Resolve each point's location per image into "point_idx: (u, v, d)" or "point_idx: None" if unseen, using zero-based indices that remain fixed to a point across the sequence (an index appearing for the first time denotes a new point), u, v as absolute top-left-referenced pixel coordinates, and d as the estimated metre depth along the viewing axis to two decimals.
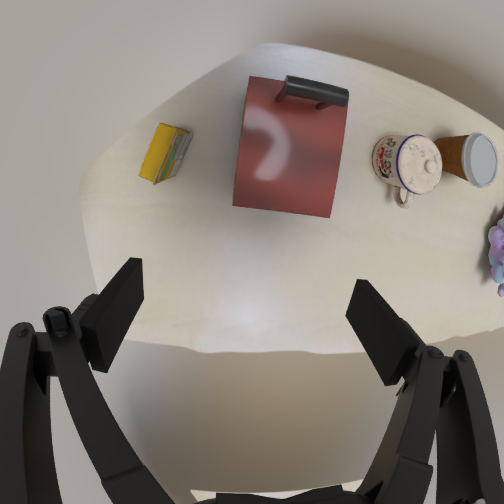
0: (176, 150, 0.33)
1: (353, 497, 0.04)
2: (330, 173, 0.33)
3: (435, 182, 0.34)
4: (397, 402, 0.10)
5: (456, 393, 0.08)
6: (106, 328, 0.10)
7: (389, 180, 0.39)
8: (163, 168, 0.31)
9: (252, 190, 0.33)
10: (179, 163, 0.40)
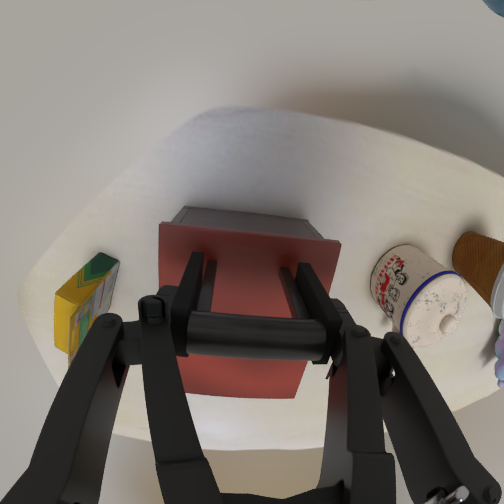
0: (90, 312, 0.23)
1: None
2: None
3: None
4: (330, 387, 0.11)
5: (397, 380, 0.09)
6: None
7: None
8: (76, 345, 0.21)
9: (188, 379, 0.23)
10: (109, 298, 0.29)
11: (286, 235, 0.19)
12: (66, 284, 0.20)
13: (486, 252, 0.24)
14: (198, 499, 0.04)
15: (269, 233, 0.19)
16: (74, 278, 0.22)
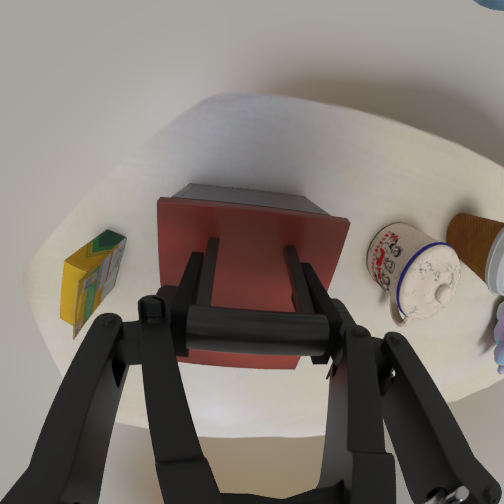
0: (97, 282, 0.24)
1: None
2: None
3: (446, 302, 0.25)
4: (330, 387, 0.11)
5: (397, 380, 0.09)
6: None
7: None
8: (82, 315, 0.22)
9: (190, 350, 0.24)
10: (115, 275, 0.31)
11: (292, 212, 0.17)
12: (75, 254, 0.22)
13: (478, 229, 0.25)
14: (198, 499, 0.04)
15: (274, 209, 0.17)
16: (83, 249, 0.23)
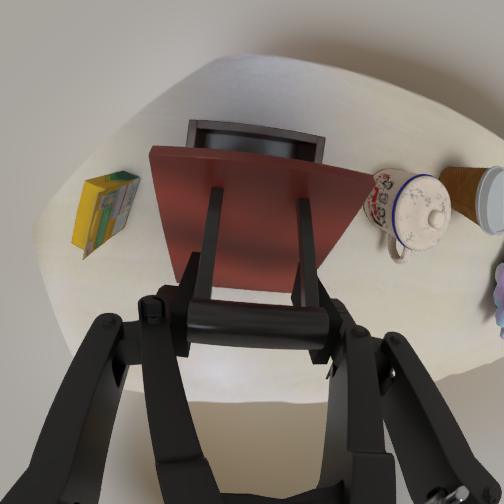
0: (112, 209, 0.27)
1: None
2: None
3: (440, 235, 0.27)
4: (330, 387, 0.11)
5: (397, 380, 0.09)
6: None
7: (383, 229, 0.32)
8: (94, 236, 0.25)
9: None
10: (126, 214, 0.33)
11: (310, 165, 0.14)
12: (95, 178, 0.24)
13: (465, 174, 0.28)
14: (198, 499, 0.04)
15: (289, 162, 0.14)
16: (102, 177, 0.25)
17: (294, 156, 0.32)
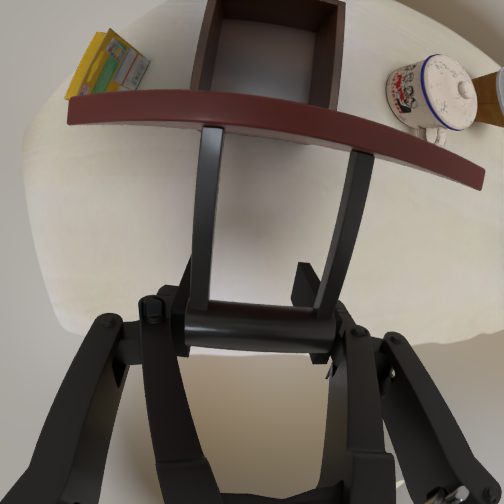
0: (117, 67, 0.19)
1: None
2: (347, 151, 0.16)
3: (472, 116, 0.20)
4: (330, 387, 0.11)
5: (397, 380, 0.09)
6: None
7: (412, 115, 0.25)
8: (93, 83, 0.17)
9: None
10: None
11: (396, 144, 0.06)
12: None
13: (482, 78, 0.20)
14: (198, 499, 0.04)
15: (359, 131, 0.06)
16: None
17: (313, 41, 0.24)
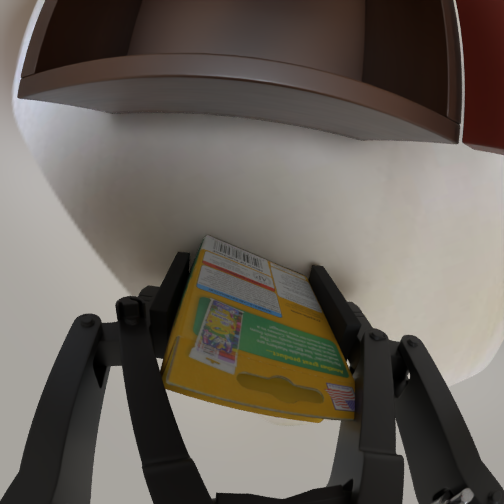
0: (253, 312, 0.11)
1: (353, 497, 0.04)
2: None
3: None
4: None
5: (412, 382, 0.09)
6: (171, 316, 0.12)
7: None
8: (317, 378, 0.09)
9: None
10: (279, 268, 0.17)
11: None
12: (165, 351, 0.10)
13: None
14: (187, 501, 0.04)
15: None
16: (172, 328, 0.11)
17: None
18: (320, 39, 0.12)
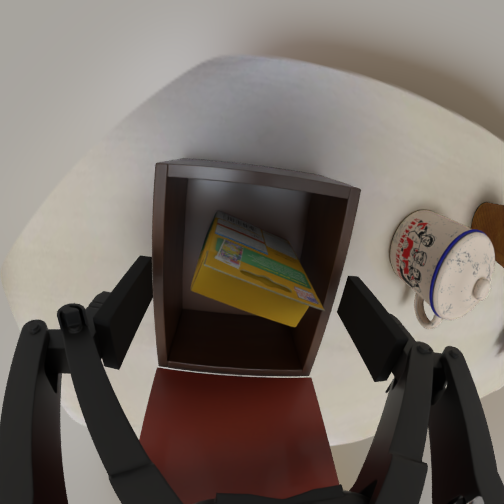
0: (249, 249, 0.18)
1: (353, 497, 0.04)
2: None
3: None
4: (387, 399, 0.10)
5: (448, 390, 0.08)
6: (119, 325, 0.10)
7: (412, 288, 0.25)
8: (288, 282, 0.16)
9: None
10: (269, 234, 0.24)
11: None
12: (194, 273, 0.17)
13: None
14: None
15: None
16: (197, 263, 0.19)
17: (308, 199, 0.24)
18: None
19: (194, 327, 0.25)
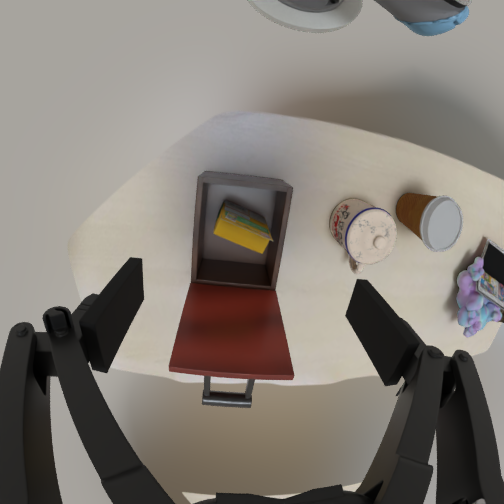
0: (240, 216, 0.38)
1: (353, 497, 0.04)
2: None
3: (387, 252, 0.39)
4: (397, 402, 0.10)
5: (456, 393, 0.08)
6: (106, 328, 0.10)
7: None
8: (257, 230, 0.36)
9: None
10: (252, 212, 0.44)
11: (254, 377, 0.25)
12: (214, 227, 0.37)
13: (416, 202, 0.40)
14: None
15: (243, 376, 0.25)
16: (215, 224, 0.38)
17: (275, 193, 0.44)
18: (232, 246, 0.47)
19: (210, 266, 0.45)
